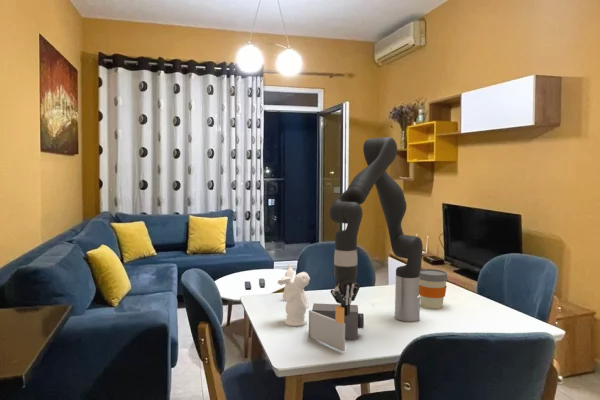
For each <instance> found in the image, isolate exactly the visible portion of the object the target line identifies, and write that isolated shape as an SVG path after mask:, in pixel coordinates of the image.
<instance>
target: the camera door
mask: <svg viewBox="0 0 600 400" xmlns="http://www.w3.org/2000/svg"><path fill="white" fill-rule="evenodd" d="M308 311H309V312H308V337H309V338H311V339H314V340H316V341H318V342H319V343H322V344H325V345H327V346H329V347H331V348H334V349H336V350H338V351H340V352H345V351H346V340H345V323H344V307H341V306H336V314H335V319H332V318H330V317H327V316H324V315H322V314H319V313H316V312H314V311H312V310H308Z"/></svg>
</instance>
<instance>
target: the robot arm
mask: <svg viewBox="0 0 600 400" xmlns="http://www.w3.org/2000/svg"><path fill="white" fill-rule="evenodd" d="M362 146H363V147H362V149H363V151H362V152H363V156H364V159H365V162H366V164H367V166H366V167H365V168H363V169H362V170H361V171H359V172H358V173H357V174H356V175H355V176H354V177H353V178H352V180H351V182H350V184H349V185H348V186H347V189H346V190H345V191H343V192H342V193H341V194H340V195H339V196H337V198H335V200H334V201H333V202H332V204H331V205H330V208H329V218H330V219H331V221H332V222H334V223H337V224H347V225H346V228H345V229H343V230H338V231H336V233H335V235H334V255H333V261H334V263H333V265H334V267H333V269H334V271H333V275H334V278H335V280H336V282H335V287H334V289H330V294H331V295H332V297H333V298H334V300H335V302H336V304H341V307H344V316H348V315H350V305H352V302H354V301H355V300H356V298H357V295H358V294H359V293H358V292H359V290H360V288H361V285H360V284H358V283H357V280H356V279H357V277H358V251H357V249H358V247H357V246H358V233H359V229H360V227H361V222H362V218H363V209H362V206H361V205H362V204H363V203H365V201H366V200H367V197H368V196H369V195H370V193H371V191H372V189H373V187H374V186H375V188H376V191H377V194H378V199H379V203H380V206H381V209H382V212H383V214H384V219H385V222H386V227H387V229H388V230H387V231H388V235H389V240H390V245H391V250H392V253H393V255H394V256H395V257H397V258H401V259H407V261H406V264H405V265H401V266H398V267H396V269H395V285H394V287H395V288H394V289H395V292H394V293H395V294H394V297H395V299H394V318H395V319H396V320H398V321H401V322H416V321H420V316H421V315H420V311H421V309H420V308H421V301H420V295H419V278H420V270H421V269H422V259H423V250H424V249H423V248H424V247H423V245H424V244H423V240H422V239H421V237H419V236H418V235H417V236H416V235H409V234H408V235H407V234H404V232H403V228H402V221H403V219H404V216H405V213H406V212H407V202H406V198H405V194H404V191H403V189H402V187H401V186H400V185H399V184H398V183H397V182H396V181H395V179H394V178H392V176H390V175H389V173H388V172H387V171H386V170H388V168H389V167H390V165H392V163H393V162H394V161H395V159H396V157H397V155H398V144H397V142H396V140H395V138H393V137H389V136H388V137H387V136H383V137H373V138H368V139H366V140H365V141H364V143H363V145H362Z"/></svg>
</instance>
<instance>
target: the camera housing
mask: <svg viewBox="0 0 600 400" xmlns="http://www.w3.org/2000/svg"><path fill="white" fill-rule="evenodd" d="M336 306H341V304H340V303H313V304H312V309H311V311H314V312H316V313H319V314H322V315H324V316H327V317H330V318H332V319H335V314H336ZM364 317H365V315H364V313H359V305H358V304H350V315H348V316H344V323H345V341H347V340H348V341H358V340H359V339H358V338H359V336H358V335H359V329H360V330H361V329H362V330H363V329H364V327H365V326H364V324H365V322H364Z"/></svg>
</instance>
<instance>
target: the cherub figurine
mask: <svg viewBox="0 0 600 400" xmlns="http://www.w3.org/2000/svg"><path fill="white" fill-rule="evenodd" d="M310 280H311V277H310V276H309V274H308V273H307V272H306V271H302V272H299V273H296V275H295V276H294V269H293V268H292V266H291V265H290V264H289V263H288V264H287V267H286V271H285V273H284V276H283V277H282V278H280V279H278V281H277V284H278V285H280V286H283V285H285V286H284V287H283V293H282V300H283V301H284V302H285V312H286V315H285V316H286V318H285V319H284V324H285V325H286V326H288V327H302V326H304V325H305V326H306V325H307V323H308V320H307V319H306V315H305V314H306V311H307V309H308V308H309V307H310V305H309V302H308V298H307V294H306V292H305V287H306V286H307V287H308V285H309V283H310Z"/></svg>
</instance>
